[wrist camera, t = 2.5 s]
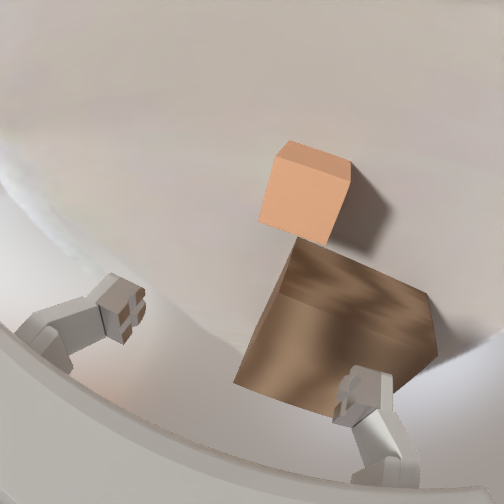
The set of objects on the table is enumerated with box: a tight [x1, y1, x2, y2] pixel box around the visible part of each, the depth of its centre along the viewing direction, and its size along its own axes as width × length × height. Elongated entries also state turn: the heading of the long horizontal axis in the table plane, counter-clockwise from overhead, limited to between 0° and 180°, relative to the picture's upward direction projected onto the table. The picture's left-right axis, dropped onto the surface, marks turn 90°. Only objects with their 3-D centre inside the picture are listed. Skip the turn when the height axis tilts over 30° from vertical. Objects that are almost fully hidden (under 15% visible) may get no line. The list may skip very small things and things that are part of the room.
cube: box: [258, 141, 351, 245], centre depth 22 cm, size 5×5×5 cm
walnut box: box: [233, 237, 438, 418], centre depth 28 cm, size 14×14×8 cm
